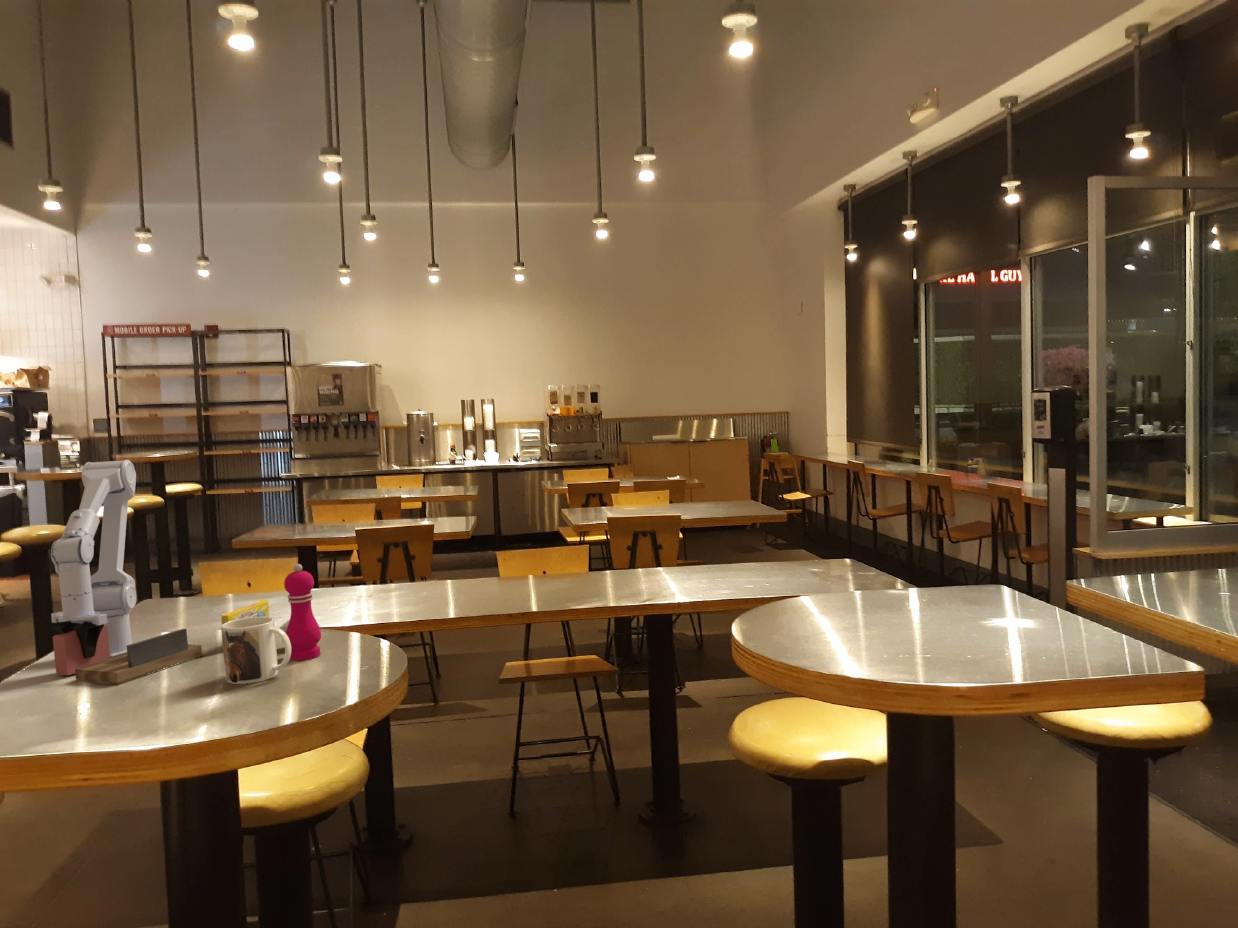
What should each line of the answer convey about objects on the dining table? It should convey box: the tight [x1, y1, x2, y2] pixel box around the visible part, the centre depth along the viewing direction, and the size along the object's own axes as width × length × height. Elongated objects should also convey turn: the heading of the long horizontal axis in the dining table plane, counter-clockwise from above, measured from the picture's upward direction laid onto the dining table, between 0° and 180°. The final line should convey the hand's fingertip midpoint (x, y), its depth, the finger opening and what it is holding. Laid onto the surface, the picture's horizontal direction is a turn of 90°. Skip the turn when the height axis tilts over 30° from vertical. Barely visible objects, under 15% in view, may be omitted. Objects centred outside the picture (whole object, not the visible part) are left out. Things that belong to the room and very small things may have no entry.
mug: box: [220, 616, 292, 685], centre depth 186 cm, size 10×12×11 cm
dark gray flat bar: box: [126, 628, 189, 668], centre depth 197 cm, size 1×14×4 cm, turn 157°
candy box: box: [220, 600, 270, 626], centre depth 217 cm, size 16×2×8 cm, turn 168°
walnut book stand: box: [74, 643, 203, 686], centre depth 199 cm, size 12×21×2 cm, turn 157°
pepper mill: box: [283, 563, 322, 661], centre depth 200 cm, size 7×7×20 cm
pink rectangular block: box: [52, 625, 111, 676], centre depth 200 cm, size 4×10×8 cm, turn 157°
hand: (82, 656), depth 200 cm, fingers closed on pink rectangular block, 3 cm apart
